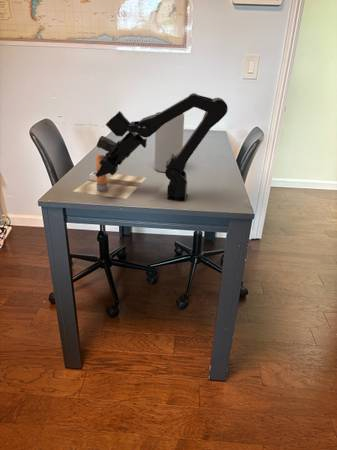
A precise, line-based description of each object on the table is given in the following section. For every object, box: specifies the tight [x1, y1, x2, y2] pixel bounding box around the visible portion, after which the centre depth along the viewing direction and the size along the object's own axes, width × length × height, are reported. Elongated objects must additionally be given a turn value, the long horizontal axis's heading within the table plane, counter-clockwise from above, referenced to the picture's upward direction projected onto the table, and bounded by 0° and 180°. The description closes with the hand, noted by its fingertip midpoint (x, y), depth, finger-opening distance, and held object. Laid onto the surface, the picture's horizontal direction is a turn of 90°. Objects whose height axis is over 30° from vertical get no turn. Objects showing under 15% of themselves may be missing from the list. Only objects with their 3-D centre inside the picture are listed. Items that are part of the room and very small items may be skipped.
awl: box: [95, 154, 108, 192], centre depth 124 cm, size 4×4×13 cm
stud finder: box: [88, 171, 108, 181], centre depth 136 cm, size 6×4×2 cm, turn 76°
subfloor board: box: [73, 173, 147, 200], centre depth 133 cm, size 21×24×2 cm
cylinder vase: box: [154, 111, 185, 174], centre depth 152 cm, size 12×12×25 cm
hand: (97, 174), depth 124 cm, fingers closed on awl, 3 cm apart
